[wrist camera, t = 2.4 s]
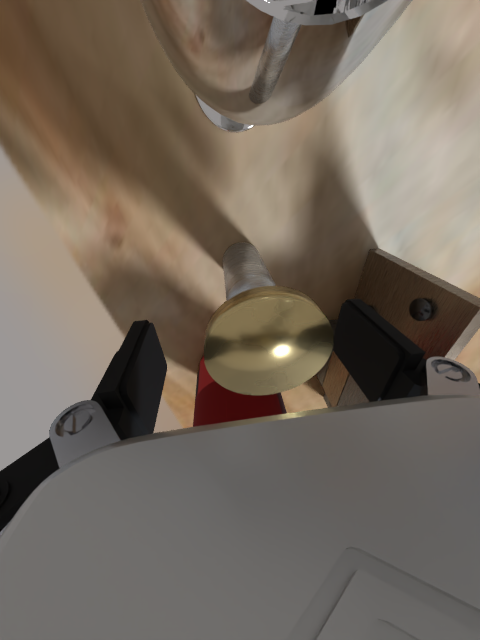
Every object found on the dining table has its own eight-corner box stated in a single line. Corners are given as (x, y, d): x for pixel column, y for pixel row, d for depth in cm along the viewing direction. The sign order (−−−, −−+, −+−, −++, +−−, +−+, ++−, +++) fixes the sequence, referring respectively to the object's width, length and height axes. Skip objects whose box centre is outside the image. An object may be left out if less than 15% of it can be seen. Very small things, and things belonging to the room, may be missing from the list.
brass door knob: (204, 229, 15) (193, 306, 7) (275, 224, 16) (348, 292, 7) (212, 293, 18) (212, 401, 10) (272, 288, 19) (321, 388, 10)
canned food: (183, 360, 23) (163, 484, 14) (246, 323, 21) (271, 441, 12) (224, 393, 27) (230, 506, 18) (280, 366, 25) (318, 477, 16)
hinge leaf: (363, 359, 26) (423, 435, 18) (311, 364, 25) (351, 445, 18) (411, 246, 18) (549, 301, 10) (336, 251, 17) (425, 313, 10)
